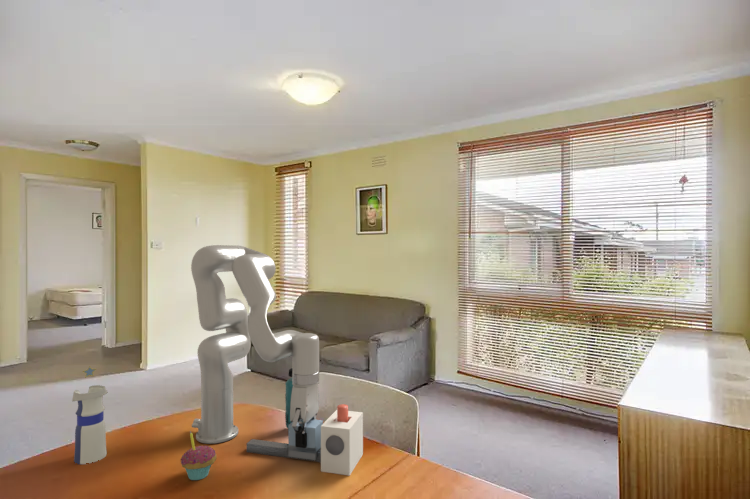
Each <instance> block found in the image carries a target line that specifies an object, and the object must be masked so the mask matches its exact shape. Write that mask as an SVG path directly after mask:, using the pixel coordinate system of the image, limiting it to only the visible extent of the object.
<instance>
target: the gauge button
mask: <svg viewBox="0 0 750 499" xmlns="http://www.w3.org/2000/svg"><path fill="white" fill-rule="evenodd" d="M336 408H337V409H336V410H337V421H338V422H348V411H349V405H348V404H347V403H346V404H343V403H342V404H338V405H337V407H336Z"/></svg>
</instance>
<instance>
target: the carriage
mask: <svg viewBox="0 0 750 499" xmlns="http://www.w3.org/2000/svg"><path fill="white" fill-rule="evenodd" d="M300 421H303V419H300ZM323 423H324V420H323V419H317V420H315V419H310V420H309V421H308V422H307V424H306V432H305V433H307V447H306V448H300V447H296V446H295V430H294V428H293V427H292V424H293V422H292V423H290V424H289V425H288V428H287V429H288V431H287V432H288V438H287V439H288V443H287V444H288V456H289V457H296V458H304V459H311V460H316V452H317V451H318V450H319V449H320V448H321V425H322V424H323ZM299 426H301V427H302V428H303V424H299Z"/></svg>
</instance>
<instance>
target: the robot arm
mask: <svg viewBox="0 0 750 499" xmlns="http://www.w3.org/2000/svg"><path fill="white" fill-rule="evenodd" d="M190 266H191V267H190V269H191V270H190V271H191V275H192V279H193V283H194V286H195V291H196V300H197V301H196V302H197V309H198V320H199V324H200V326H201V328H202V329H203V330H205V331H206V332H216V331H220V330H225V332H224V333H219V334H214V335H211V336H209V337H206V338H204V339H203V340H202V341H201V342H200V343H199V345H198V347H197V358H198V362H199V363H198V364H199V369H200V382H201V383H200V392H201V393H200V397H201V398H200V399H201V401H200V402H201V403H200V404H201V407H200V408H201V409H200V412H201V414H200V415H201V416H200V418H194V419H193V422H192V424H191V428H197V429H198V430H197V432H196V434H195V439H196V441H198V442H199V443H201V444H209V445H210V444H211V445H212V444H220V443H224V442H228V441H230V440H232V439H234V438H236V436H238V435H239V427H238V426H237V425H234V376H233V373H232V371H231V368H230V367H229V363H232V362H235V361H238V360H241V359H242V358H245V357H247V356H248V354H249V353H250V351H251V345H253V347H254V350H255V351H256V353H257V354H258V356H259V357H260V359H262V360H263V361H265V362H268V363H274V362H277V361H280V360H283V359H285V358H286V359H287V358H289V357H290V358H291V357H292V358H291V359H292V362H291V363H292V366H291V367H292V377H291V378H292V384H293V388H292V394H291V406H290V421H291V422H293V424H292V427H293V428H294V430H295V446H296V447H300V448H306V447H307V433H305V432H306V424H307V422H308V421H309V420H310V419H315V420H318V419H317V415H318V412H319V409H320V408H319V407H320V393H319V392H320V390H319V384H320V338H319V337H320V336H318V335H317V334H315V333H312V332H305V333H304V332H301V331H298V330H294V329H286V330H283V331H282V330H281V331H278V332H274V333H273V332H272V330H271V327H270V325H269V323H268V319H267V312H268V309H269V307H270V306H271V305H272V304H274V303H275V300H276V299H277V293H276V291H275V290H274V288H273V286H272V285H271V282H270V279H272V278H273V277H274V276H275V274H276V270H277V269H276V268H277V267H276V264H275V261H274V259H273V258H272V257H271V256H269V255H268V254H266V253H264V252H260V251H258V250H255V249H252V248H250V247H247V246H242V245H234V244H233V245H229V244H228V245H224V244H216V245H213V244H211V245H206V246H203V247H201V248H199V249H198V250H197V251H196V252H195V253H194V255H193V257H192V259H191V264H190ZM223 272H224V273H225V272H226V273H228V272H232V274H233V277H234V279H235V280H236V283H237V285H238V287H239V289H240V291H241V293H242V295H243V298H244V299H245V301H246V303H247V305H248V308H249V311H248V310H247V307H246V305H245V304H244V302H243V301H242V300H241V299H238V298H234V297H233V298H227V297H226V288H225V284H224V282H223V280H222V278H221V277H220V276H219V275H218V273H223ZM300 419H303V421H300ZM299 424H303V428H302V427H301V426H299Z"/></svg>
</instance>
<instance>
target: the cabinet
mask: <svg viewBox="0 0 750 499" xmlns="http://www.w3.org/2000/svg"><path fill="white" fill-rule="evenodd" d="M363 454H364V412H362V411H353V410H348V422H338V421H337V409H336V410H335V411H334V412H333V413H332V414H331V415H330V416H329V417H328V418H327V419H326V420H325V421H323V424H322V425H321V462H320V472H321V473H329V474H336V475H342V476H351V475H352V472H353V471H354V470H355V468H356V466H357V464H358V463H359V462H360V459H362V456H363Z"/></svg>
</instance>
